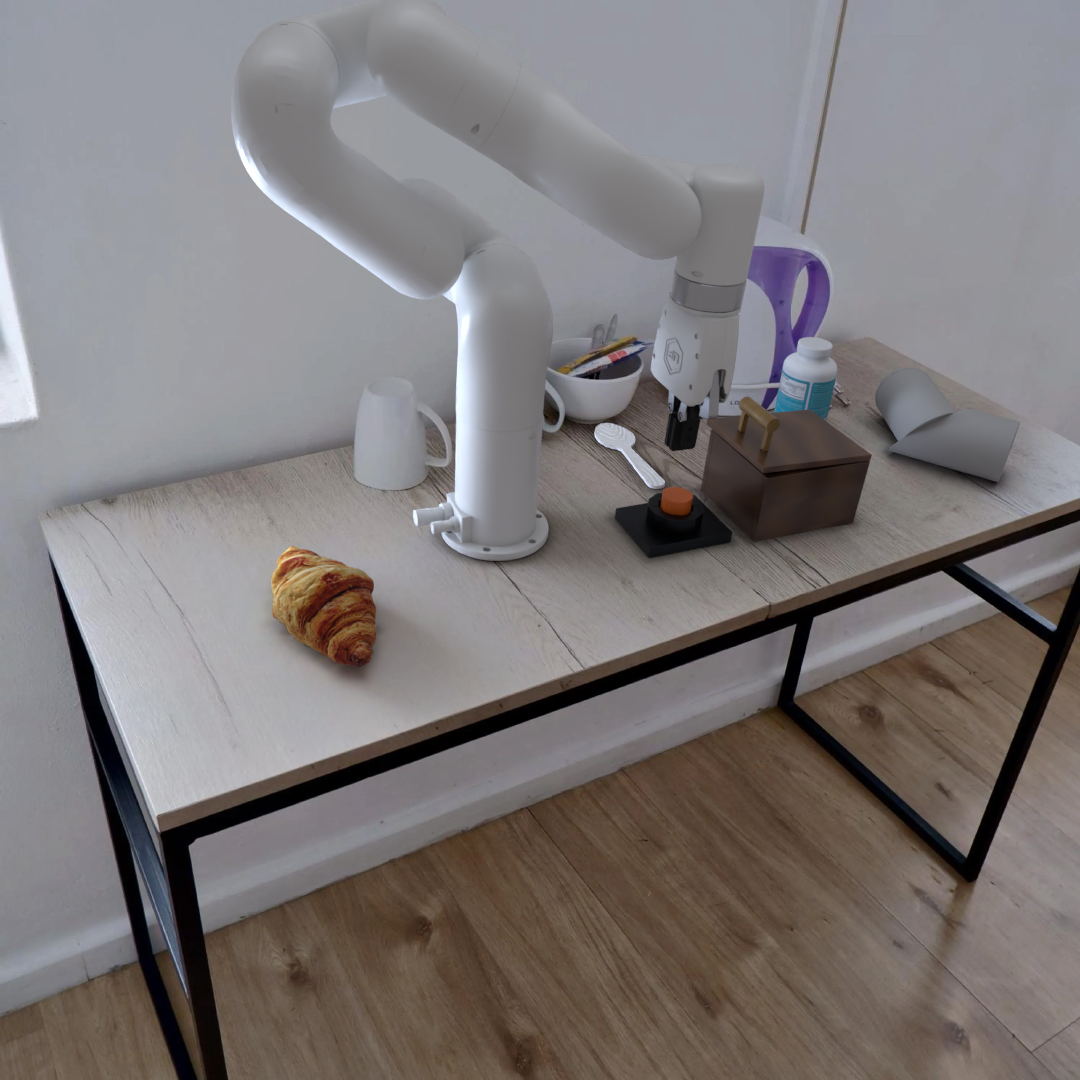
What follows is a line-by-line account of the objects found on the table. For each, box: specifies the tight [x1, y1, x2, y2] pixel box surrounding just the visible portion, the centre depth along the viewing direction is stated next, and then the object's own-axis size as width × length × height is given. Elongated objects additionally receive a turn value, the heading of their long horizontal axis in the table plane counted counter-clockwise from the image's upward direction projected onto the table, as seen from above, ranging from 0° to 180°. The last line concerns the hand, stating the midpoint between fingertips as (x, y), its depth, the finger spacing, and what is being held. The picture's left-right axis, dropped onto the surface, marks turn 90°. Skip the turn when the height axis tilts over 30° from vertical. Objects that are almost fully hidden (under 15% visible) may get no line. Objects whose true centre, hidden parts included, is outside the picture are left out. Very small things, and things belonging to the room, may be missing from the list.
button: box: [660, 486, 694, 516], centre depth 119 cm, size 4×4×2 cm
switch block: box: [614, 492, 733, 559], centre depth 120 cm, size 11×9×4 cm
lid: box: [706, 396, 873, 473], centre depth 121 cm, size 15×13×5 cm
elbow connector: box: [874, 366, 1021, 483], centre depth 141 cm, size 18×10×20 cm
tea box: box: [700, 429, 871, 543], centre depth 125 cm, size 15×13×9 cm
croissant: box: [270, 545, 377, 668], centre depth 102 cm, size 21×10×8 cm, turn 32°
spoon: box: [594, 422, 666, 490], centre depth 136 cm, size 5×18×1 cm, turn 21°
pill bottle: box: [773, 336, 839, 421], centre depth 142 cm, size 8×7×14 cm
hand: (679, 446), depth 115 cm, fingers closed
